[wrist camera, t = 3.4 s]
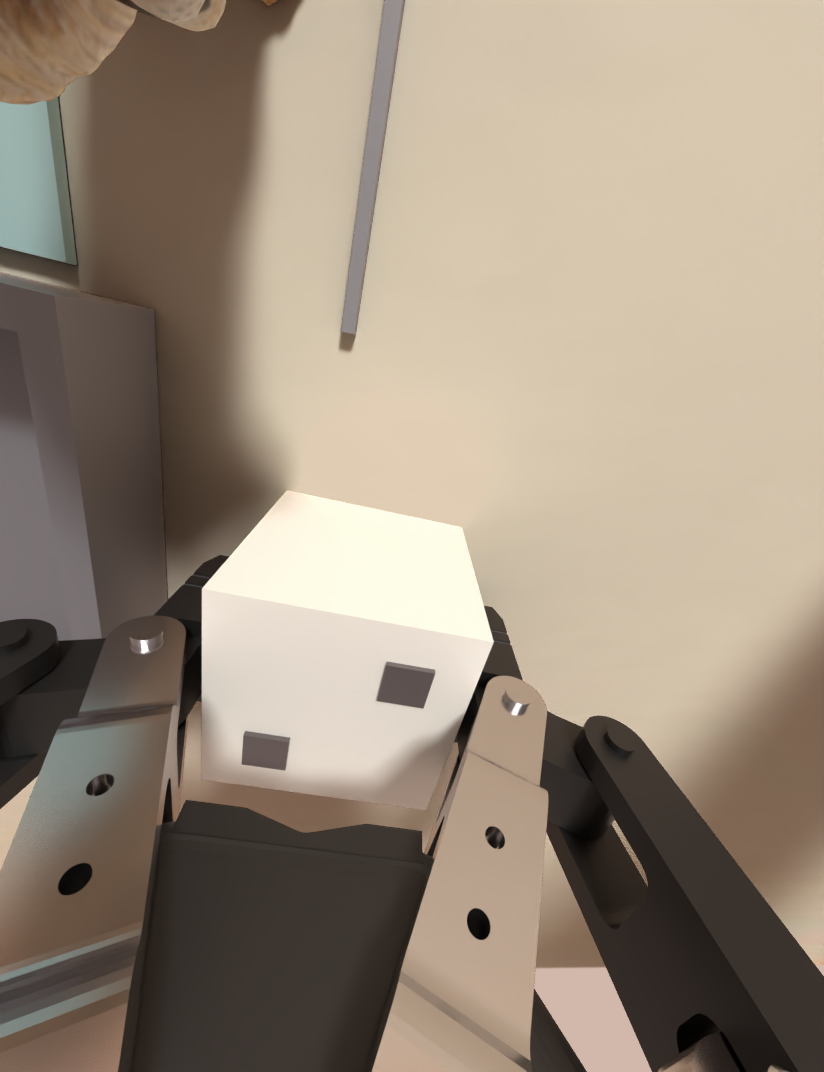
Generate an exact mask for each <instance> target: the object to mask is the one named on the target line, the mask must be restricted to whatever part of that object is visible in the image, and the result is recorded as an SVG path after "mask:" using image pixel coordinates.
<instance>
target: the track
mask: <svg viewBox="0 0 824 1072" xmlns="http://www.w3.org/2000/svg"><path fill="white" fill-rule="evenodd" d="M404 3H405V0H385V1H384V9H383V16H382V24H381V32H380V39H379V47H378V54H377V62H376V69H375V77H374V84H373V92H372V100H371V107H370V115H369V122H368V130H367V137H366V145H365V153H364V160H363V168H362V175H361V183H360V190H359V198H358V205H357V213H356V221H355V228H354V236H353V243H352V251H351V258H350V266H349V273H348V281H347V289H346V296H345V304H344V311H343V319H342V326H341V331H342V332H346V333H350V334H354V335H356V330H357V323H358V316H359V309H360V303H361V296H362V289H363V282H364V275H365V269H366V262H367V255H368V248H369V241H370V235H371V228H372V221H373V214H374V207H375V201H376V194H377V187H378V180H379V173H380V167H381V160H382V153H383V146H384V139H385V133H386V126H387V119H388V112H389V105H390V99H391V92H392V85H393V78H394V71H395V65H396V58H397V51H398V44H399V37H400V31H401V24H402V17H403V10H404ZM0 247H4V248H8V249H12V250H16V251H20V252H24V253H28V254H33V255H37V256H41V257H45V258H49V259H53V260H57V261H61V262H65V263H69V264H73V265H77V261H76V252H75V243H74V235H73V226H72V217H71V208H70V200H69V191H68V182H67V173H66V164H65V156H64V147H63V138H62V129H61V121H60V112H59V103H58V97H55V98H54V100H49V101H41V102H37V103H34V104H30V105H23V104H9V103H5V102H0Z"/></svg>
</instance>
